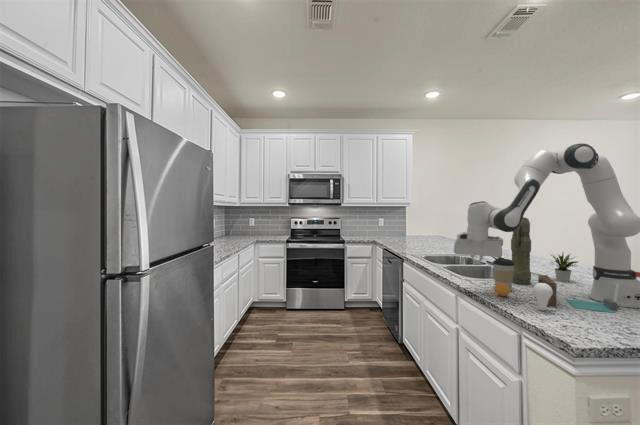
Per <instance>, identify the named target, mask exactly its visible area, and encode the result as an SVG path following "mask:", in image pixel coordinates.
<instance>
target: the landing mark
mask: <svg viewBox="0 0 640 425" xmlns="http://www.w3.org/2000/svg"><path fill="white" fill-rule="evenodd" d="M565 301H567V302H568V303H569V304H570V305H571V306H572V307H573V308H575V309H579V310H586V311H587V310H588V311H596V312H603V313H604V312H605V313H613V314H616V312H617V311H613V310H610V309H609V308H607V307H606V306H604V305H603V304H604V302H599V301H597V302H596V301H585V300H579V299H578V300H577V299H570V298H565Z"/></svg>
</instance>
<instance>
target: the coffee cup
mask: <svg viewBox="0 0 640 425" xmlns="http://www.w3.org/2000/svg"><path fill="white" fill-rule="evenodd" d="M492 265H493V276H494V277H493V278H494V286H495V285H496V284H498V283H505V284H507V285H508V286H509V288H510V292H511V291H512V290H513V283H512V282H513V275H514V262H512V259H509V258H504V257H497V258H495V259H494V260H493V261H492Z"/></svg>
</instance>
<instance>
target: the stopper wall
mask: <svg viewBox="0 0 640 425" xmlns="http://www.w3.org/2000/svg"><path fill="white" fill-rule="evenodd" d="M603 305H604V306H606V307H607V308H609V309H610V310H613V311H614V312H618V306H617V303H616V302H614V301H613V300H611V299H606V298H604V302H603Z"/></svg>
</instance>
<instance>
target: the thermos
mask: <svg viewBox="0 0 640 425" xmlns="http://www.w3.org/2000/svg"><path fill="white" fill-rule="evenodd" d="M511 233H512V235H511V236H512V237H511V239H510V251H511V260H512V262H514V275H513V282H512V284H514V283H515V284H514V285H520V286H530V285H531V280H532V272H531V264H530V263H531V251H532V239H531V235H530V233H531V222H530V220H529V218H528V217H523V219H522V223H521V225H520V227H519V228H518V229H517V230H515V231H512V232H511Z"/></svg>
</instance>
